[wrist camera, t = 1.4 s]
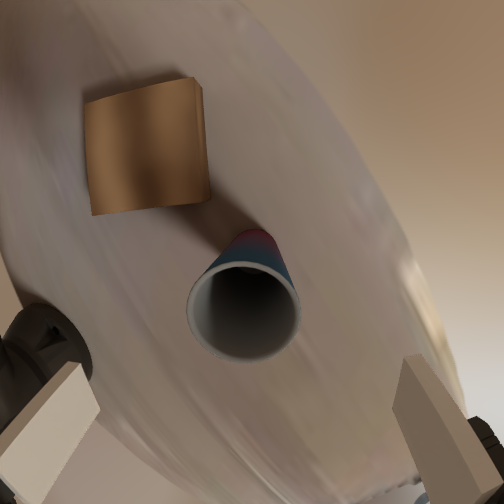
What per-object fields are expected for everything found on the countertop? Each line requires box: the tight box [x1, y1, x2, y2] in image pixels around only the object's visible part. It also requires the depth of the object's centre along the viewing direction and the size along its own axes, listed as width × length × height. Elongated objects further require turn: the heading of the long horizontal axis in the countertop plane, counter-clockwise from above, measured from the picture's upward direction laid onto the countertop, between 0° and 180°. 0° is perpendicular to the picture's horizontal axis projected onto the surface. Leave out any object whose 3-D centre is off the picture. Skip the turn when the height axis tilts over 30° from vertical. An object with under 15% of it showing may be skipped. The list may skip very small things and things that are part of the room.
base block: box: [84, 77, 211, 216], centre depth 28 cm, size 12×12×4 cm
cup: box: [186, 229, 301, 363], centre depth 25 cm, size 7×7×15 cm
